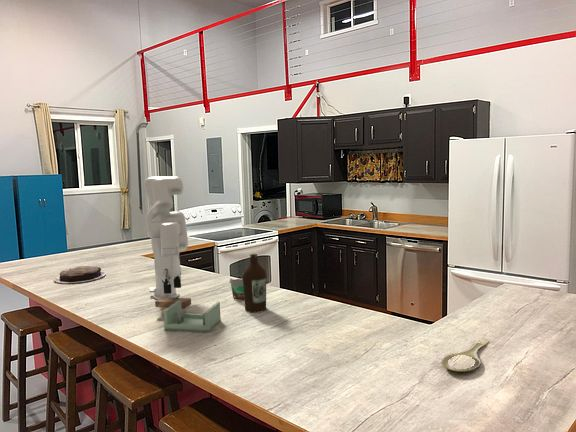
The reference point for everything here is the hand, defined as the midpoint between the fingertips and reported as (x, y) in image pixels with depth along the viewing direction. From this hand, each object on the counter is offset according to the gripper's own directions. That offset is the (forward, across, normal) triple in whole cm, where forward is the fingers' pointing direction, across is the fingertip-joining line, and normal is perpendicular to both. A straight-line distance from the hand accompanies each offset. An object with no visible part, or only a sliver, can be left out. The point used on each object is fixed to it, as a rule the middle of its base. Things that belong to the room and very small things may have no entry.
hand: (172, 290), depth 204 cm
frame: (+12, +11, +13) cm, 21 cm away
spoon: (+14, +27, +117) cm, 121 cm away
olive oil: (+12, -12, +33) cm, 37 cm away
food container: (+11, -27, +23) cm, 37 cm away
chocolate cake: (+9, -57, -86) cm, 103 cm away
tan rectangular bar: (+11, -1, -1) cm, 11 cm away
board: (+7, -1, 0) cm, 7 cm away
